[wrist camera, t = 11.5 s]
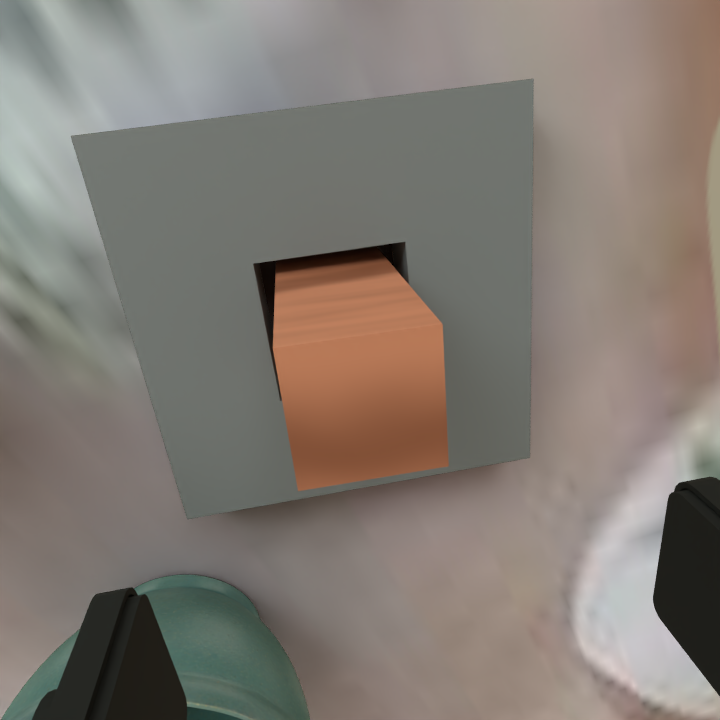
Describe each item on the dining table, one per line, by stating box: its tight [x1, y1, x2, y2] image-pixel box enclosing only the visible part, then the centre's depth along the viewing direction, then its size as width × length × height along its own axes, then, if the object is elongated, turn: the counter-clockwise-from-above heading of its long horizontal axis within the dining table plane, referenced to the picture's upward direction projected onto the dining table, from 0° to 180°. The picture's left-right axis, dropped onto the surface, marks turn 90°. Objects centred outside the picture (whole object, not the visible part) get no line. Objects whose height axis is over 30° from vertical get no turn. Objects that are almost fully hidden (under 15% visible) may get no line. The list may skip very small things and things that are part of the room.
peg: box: [273, 247, 449, 491], centre depth 22 cm, size 5×5×12 cm
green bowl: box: [1, 575, 310, 720], centre depth 30 cm, size 16×16×11 cm
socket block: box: [71, 79, 534, 519], centre depth 26 cm, size 18×18×4 cm
